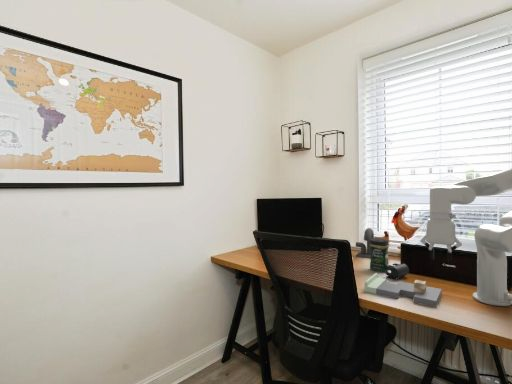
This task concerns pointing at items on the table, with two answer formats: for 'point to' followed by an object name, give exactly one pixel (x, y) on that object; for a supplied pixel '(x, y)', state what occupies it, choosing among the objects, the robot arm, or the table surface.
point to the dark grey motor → (397, 271)
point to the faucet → (367, 237)
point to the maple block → (420, 286)
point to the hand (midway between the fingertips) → (440, 259)
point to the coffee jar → (379, 254)
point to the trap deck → (402, 290)
